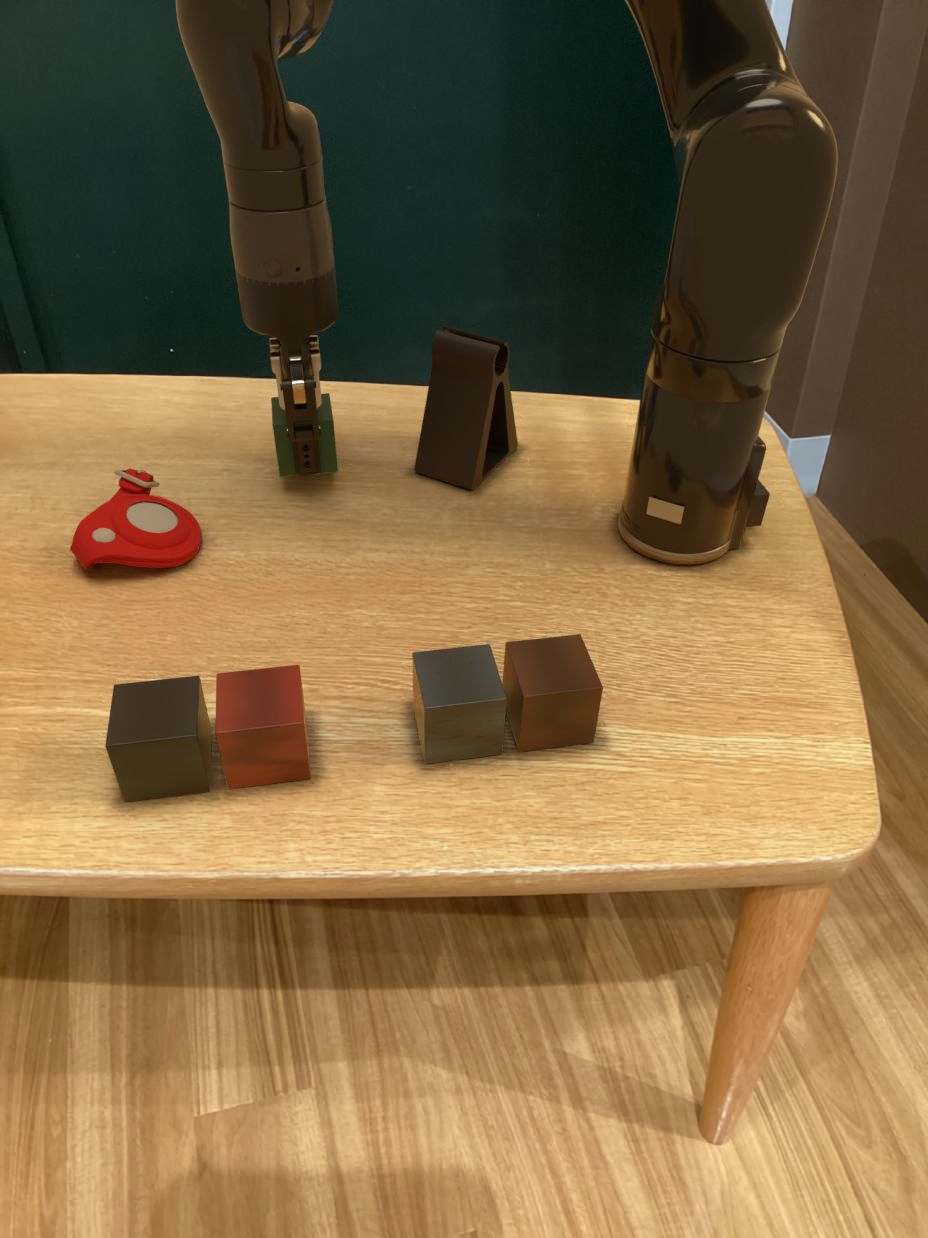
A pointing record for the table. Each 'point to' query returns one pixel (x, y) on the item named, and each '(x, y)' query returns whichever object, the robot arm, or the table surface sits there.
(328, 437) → the green block
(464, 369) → the phone stand
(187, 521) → the tracker holder
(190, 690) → the block line
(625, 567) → the table surface
